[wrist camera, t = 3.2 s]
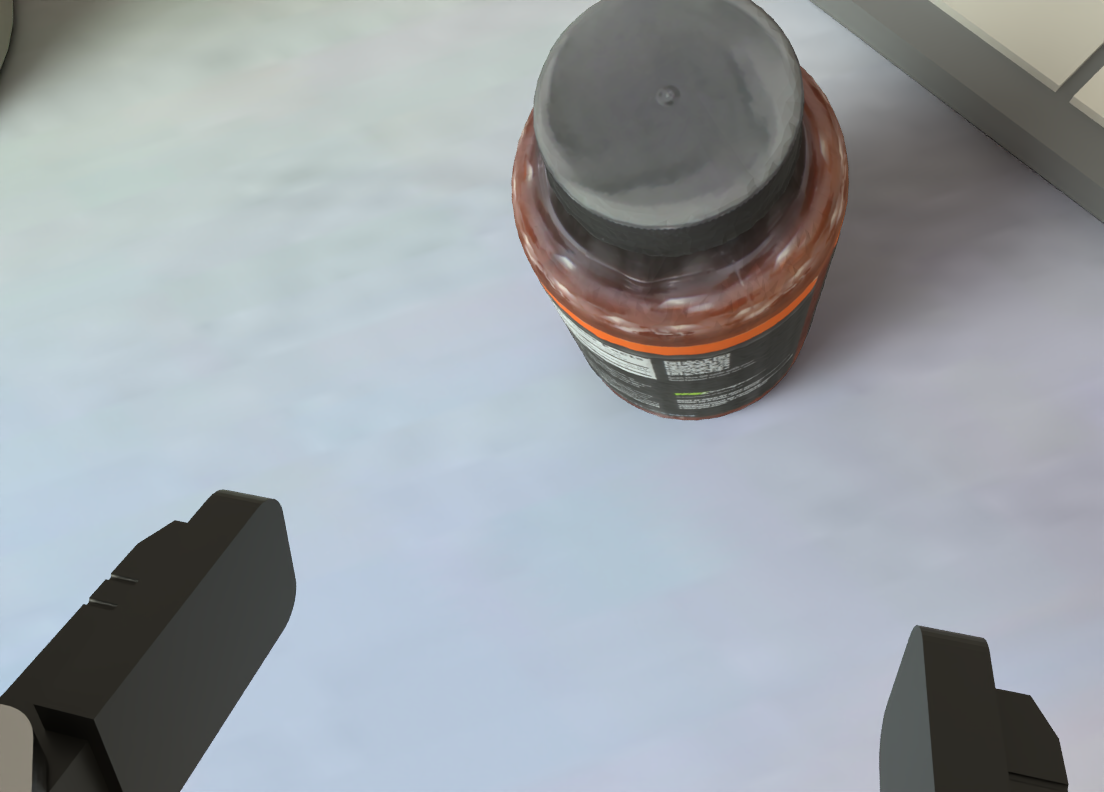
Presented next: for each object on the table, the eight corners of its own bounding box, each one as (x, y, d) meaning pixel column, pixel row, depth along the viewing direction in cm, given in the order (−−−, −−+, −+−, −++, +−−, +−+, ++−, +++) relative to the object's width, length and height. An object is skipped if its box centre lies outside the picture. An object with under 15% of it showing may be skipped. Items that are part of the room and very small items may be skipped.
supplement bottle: (713, 161, 26) (712, -162, 15) (858, 332, 24) (979, 114, 13) (532, 295, 26) (396, 72, 15) (665, 473, 24) (624, 374, 13)
